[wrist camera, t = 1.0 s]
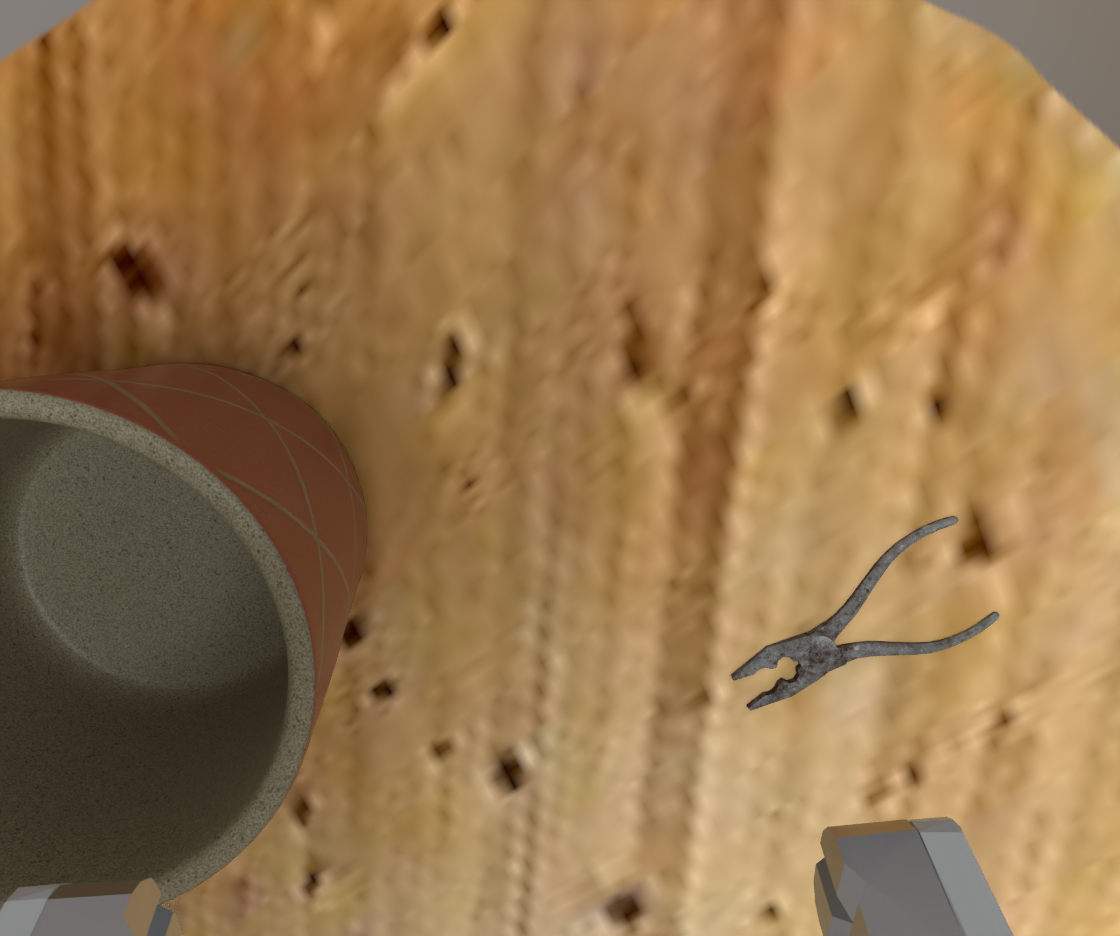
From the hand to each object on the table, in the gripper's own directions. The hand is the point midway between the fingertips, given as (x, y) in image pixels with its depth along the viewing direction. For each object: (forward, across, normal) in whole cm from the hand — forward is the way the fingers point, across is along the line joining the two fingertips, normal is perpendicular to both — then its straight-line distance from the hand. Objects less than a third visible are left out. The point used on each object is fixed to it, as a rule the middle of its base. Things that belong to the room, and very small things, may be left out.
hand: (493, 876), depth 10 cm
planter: (+40, -22, -23) cm, 51 cm away
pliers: (+38, +23, -36) cm, 57 cm away
